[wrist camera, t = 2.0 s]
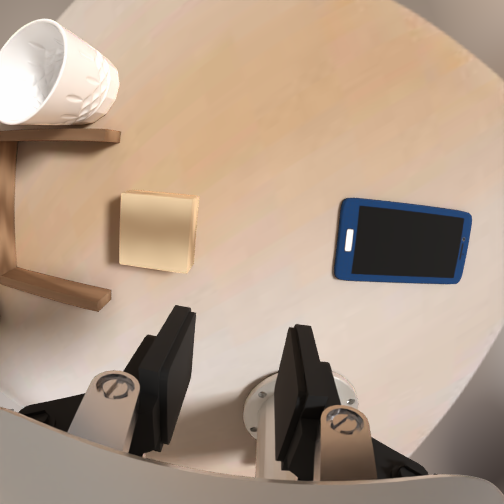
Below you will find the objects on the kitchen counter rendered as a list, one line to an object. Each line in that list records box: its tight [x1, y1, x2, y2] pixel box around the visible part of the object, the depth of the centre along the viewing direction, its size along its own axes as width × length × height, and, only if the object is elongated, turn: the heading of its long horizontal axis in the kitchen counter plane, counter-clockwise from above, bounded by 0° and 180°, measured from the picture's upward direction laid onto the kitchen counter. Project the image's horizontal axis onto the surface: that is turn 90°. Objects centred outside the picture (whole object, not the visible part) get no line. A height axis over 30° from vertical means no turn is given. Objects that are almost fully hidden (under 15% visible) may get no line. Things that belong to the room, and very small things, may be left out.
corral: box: [0, 129, 121, 312], centre depth 26 cm, size 16×14×3 cm
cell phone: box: [334, 198, 472, 284], centre depth 27 cm, size 7×14×1 cm, turn 87°
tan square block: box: [119, 190, 199, 274], centre depth 27 cm, size 6×6×3 cm
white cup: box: [0, 19, 120, 125], centre depth 20 cm, size 8×8×10 cm
